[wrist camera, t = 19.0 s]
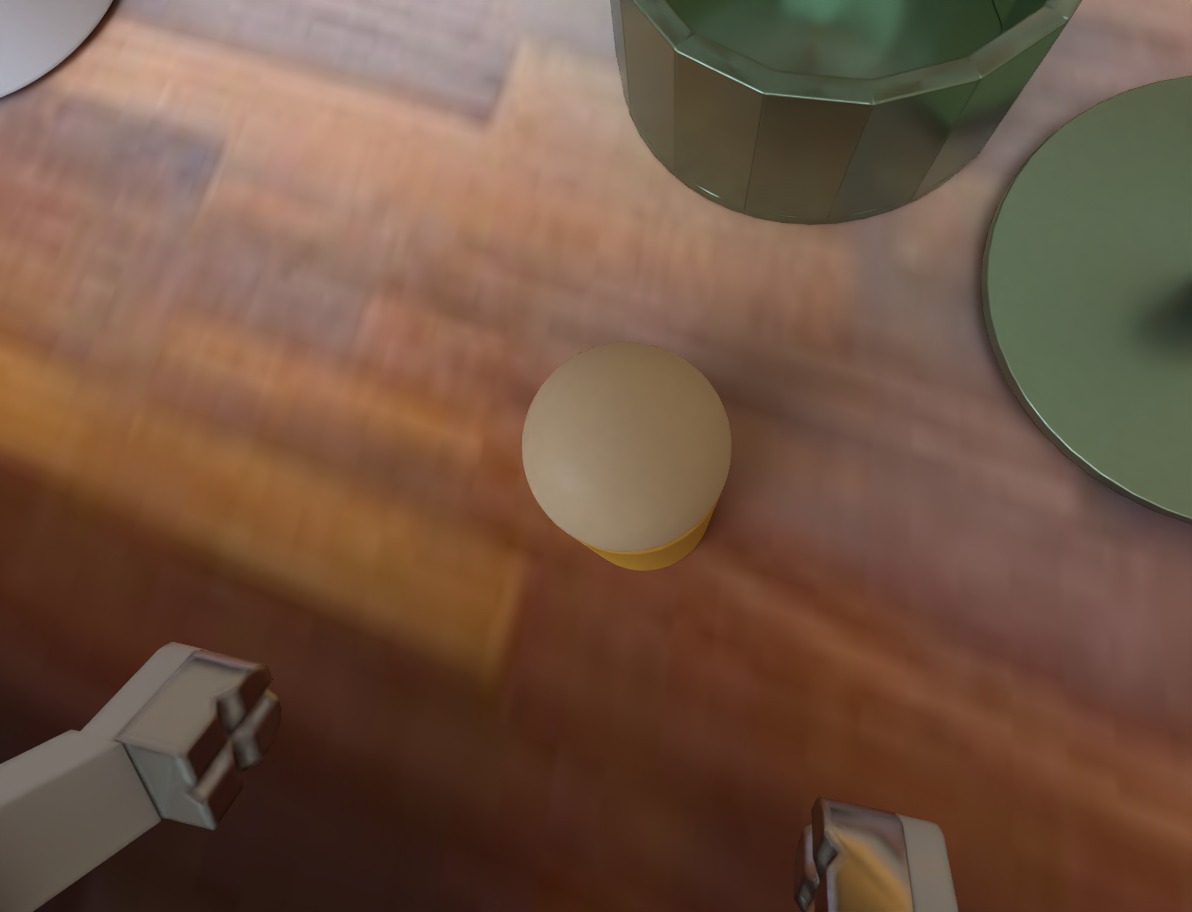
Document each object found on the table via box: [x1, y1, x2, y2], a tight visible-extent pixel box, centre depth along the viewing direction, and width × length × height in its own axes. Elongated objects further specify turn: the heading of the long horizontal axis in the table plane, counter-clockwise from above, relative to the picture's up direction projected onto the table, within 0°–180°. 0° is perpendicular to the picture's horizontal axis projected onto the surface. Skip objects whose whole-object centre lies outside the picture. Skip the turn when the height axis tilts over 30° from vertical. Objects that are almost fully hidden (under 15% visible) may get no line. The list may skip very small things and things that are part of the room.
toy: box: [522, 342, 732, 571], centre depth 19 cm, size 5×5×11 cm
